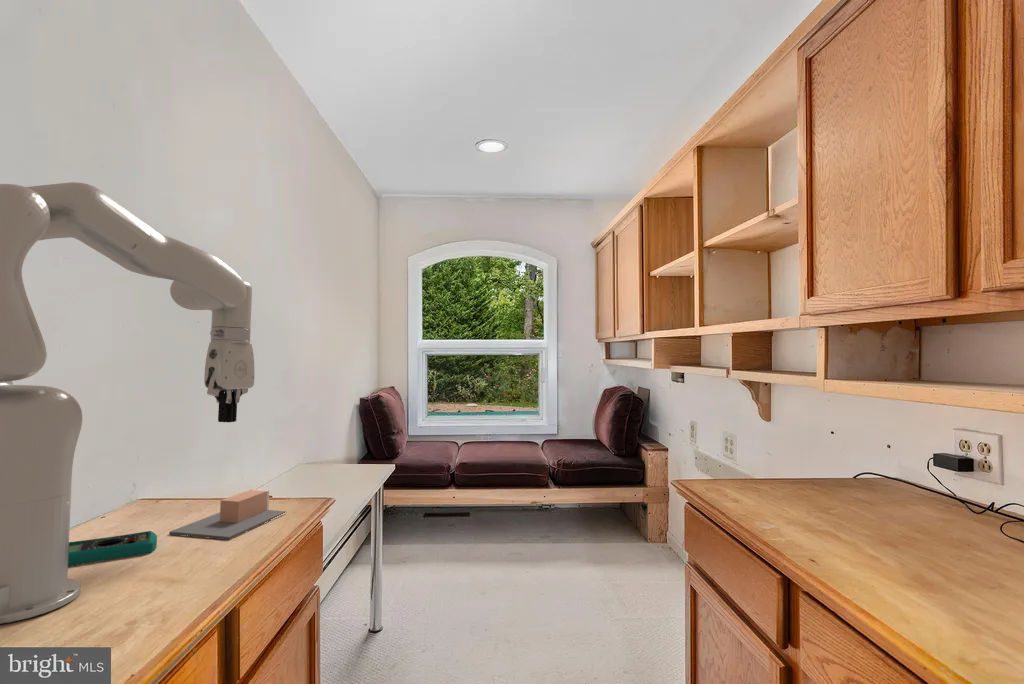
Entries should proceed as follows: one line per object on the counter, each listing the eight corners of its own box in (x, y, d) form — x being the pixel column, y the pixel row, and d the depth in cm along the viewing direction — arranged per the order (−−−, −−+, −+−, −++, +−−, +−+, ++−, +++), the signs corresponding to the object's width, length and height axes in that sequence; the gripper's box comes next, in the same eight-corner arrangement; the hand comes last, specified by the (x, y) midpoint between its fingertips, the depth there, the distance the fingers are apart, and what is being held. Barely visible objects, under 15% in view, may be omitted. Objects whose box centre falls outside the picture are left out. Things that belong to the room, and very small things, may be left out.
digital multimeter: (156, 555, 96) (156, 538, 96) (49, 572, 87) (50, 554, 87) (156, 543, 102) (157, 528, 102) (57, 558, 93) (58, 541, 94)
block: (238, 501, 112) (269, 490, 121) (220, 500, 112) (252, 489, 122) (238, 522, 111) (268, 509, 121) (219, 521, 112) (251, 508, 122)
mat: (229, 540, 102) (229, 536, 102) (169, 534, 105) (169, 531, 105) (285, 513, 120) (286, 511, 120) (233, 509, 123) (233, 507, 123)
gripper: (220, 334, 104) (216, 426, 103) (268, 339, 119) (265, 419, 118) (188, 334, 106) (183, 424, 105) (240, 338, 120) (236, 418, 119)
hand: (227, 421), depth 111 cm, fingers closed
